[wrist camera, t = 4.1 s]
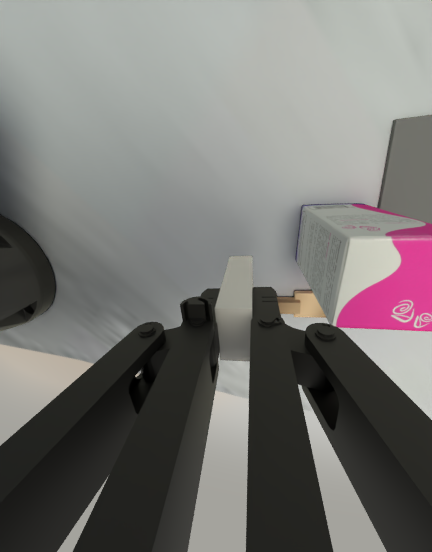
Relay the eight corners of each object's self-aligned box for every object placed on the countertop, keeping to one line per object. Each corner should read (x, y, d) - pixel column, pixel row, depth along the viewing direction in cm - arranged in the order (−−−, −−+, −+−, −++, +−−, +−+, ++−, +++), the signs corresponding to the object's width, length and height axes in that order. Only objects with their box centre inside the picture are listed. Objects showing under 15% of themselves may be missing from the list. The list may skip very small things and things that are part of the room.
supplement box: (294, 262, 24) (328, 329, 13) (301, 204, 21) (347, 230, 11) (353, 263, 23) (438, 335, 13) (367, 202, 21) (485, 230, 10)
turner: (228, 313, 27) (227, 318, 26) (227, 291, 26) (225, 296, 25) (370, 315, 24) (375, 321, 23) (375, 290, 23) (381, 296, 22)
